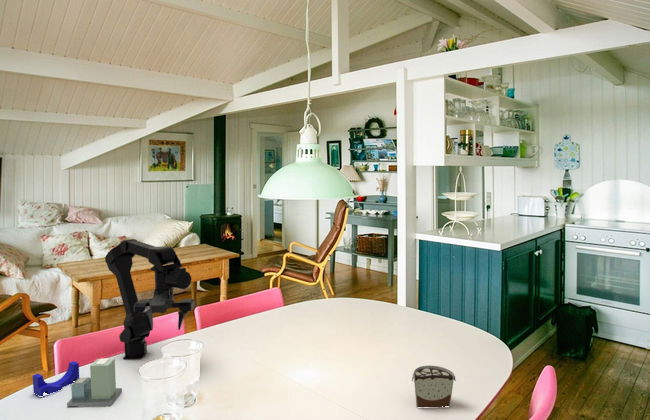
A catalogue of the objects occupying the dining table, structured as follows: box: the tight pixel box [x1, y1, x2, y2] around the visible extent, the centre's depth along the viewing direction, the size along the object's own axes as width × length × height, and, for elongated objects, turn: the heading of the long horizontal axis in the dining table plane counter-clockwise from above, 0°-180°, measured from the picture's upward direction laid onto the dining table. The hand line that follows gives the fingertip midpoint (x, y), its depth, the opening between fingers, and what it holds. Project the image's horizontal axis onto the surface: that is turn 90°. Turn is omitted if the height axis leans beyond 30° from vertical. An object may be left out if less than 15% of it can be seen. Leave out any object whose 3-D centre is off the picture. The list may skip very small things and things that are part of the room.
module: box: [89, 357, 117, 399], centre depth 129 cm, size 5×4×10 cm
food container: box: [411, 365, 457, 408], centre depth 127 cm, size 12×6×10 cm, turn 92°
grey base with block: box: [66, 377, 123, 407], centre depth 129 cm, size 12×8×6 cm, turn 93°
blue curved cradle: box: [32, 360, 80, 396], centre depth 135 cm, size 12×4×6 cm, turn 147°
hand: (165, 330), depth 149 cm, fingers open, 9 cm apart
